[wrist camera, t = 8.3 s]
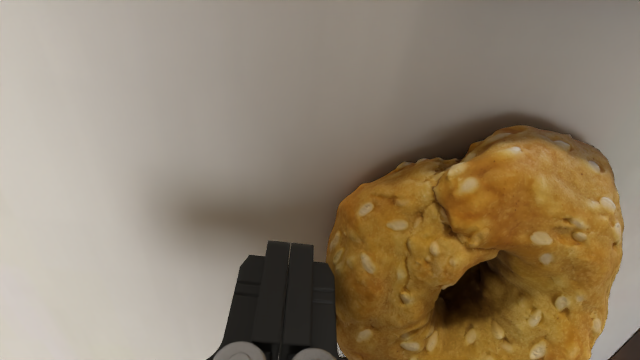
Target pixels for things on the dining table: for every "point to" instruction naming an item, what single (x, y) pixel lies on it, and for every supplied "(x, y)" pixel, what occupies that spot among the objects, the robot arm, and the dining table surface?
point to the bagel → (480, 253)
